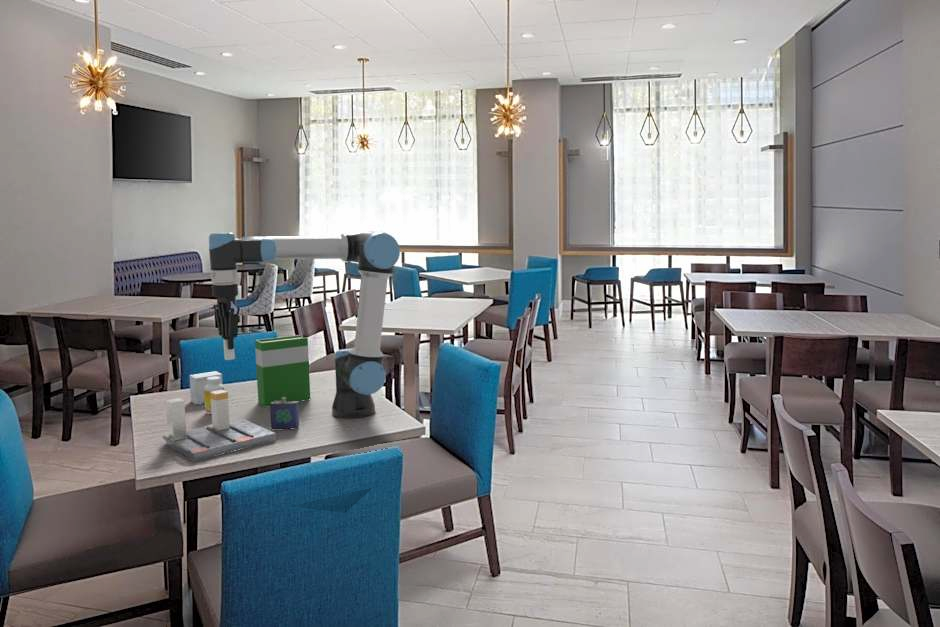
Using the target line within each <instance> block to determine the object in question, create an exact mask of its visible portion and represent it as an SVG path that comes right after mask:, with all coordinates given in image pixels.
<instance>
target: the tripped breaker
mask: <svg viewBox="0 0 940 627" xmlns="http://www.w3.org/2000/svg"><path fill="white" fill-rule="evenodd" d="M210 399H211V414H212V415H211V425H212V428H214V429H216V430H218V431H219V430H224V429H228V428H230V423H229V422H230V413H229V412H230V409H229V392H228V391H226V390H225V389H224V390H218V391H212V392H210Z"/></svg>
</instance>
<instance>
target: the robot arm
mask: <svg viewBox="0 0 940 627" xmlns="http://www.w3.org/2000/svg"><path fill="white" fill-rule="evenodd" d="M400 250H401V249H400V246H399V243H398V241H397V240H396V238H395V237H394V236H392V235H391V234H389V233H387V232H383V231H374V230H367V231H361V232H353V233H351V232H350V233H341V234H340V235H339V236H338V235H337V236H252V235H245V236H242V237H241V238H236V236H235V234H234V232H213V233H210V234H209V236H208V252H209V254H208V255H209V265H210V274H209V277H211V278H210V279H211V283H212V285H211V294H212V297H213V298H217V299H216V304H213V310H214V313H215V319H216V324H217V331H218V335H219V336H221V338H222V339H223V340H222V342H223V356H224V360H225V361H231V360H236V354H235V340H234V339H236V338H237V337H238V334H239V333H238V331H239V315H240V310H241V309H240V307H238V306H237V307H236V301H235V297H237V296H238V295H239V286H238V283H237V282H238V268H237V264H245V263H246V264H247V263H249V264H251V263H255V264H257V263H268V262H274V261H275V260H325V259H326V260H335V259H336V260H337V259H338V260H339V259H340V260H341V261H342V262H345V263H346V262H352V263H357V264H358V266H357V267H358V268H357V271H358V273H359V274H360V275H361V281H360V288H359V289H360V290H359V299H358V307H357V308H358V310H357V317H356V318H357V319H356V326H355V336H354V346H353V347H351V348H343V349H337V350H336V351H335V354H334V368H335V369H334V371H335V386H336V387H335V389H336V390H335V396H334V399H333V402H332V406H331V414H332V415H333V416H334V417H337V418H343V419H344V418H345V419H349V418H350V419H354V418H355V419H356V418H363V417H367V416H370V415H372V414H374V413H375V411H376V405H375V402H374V399H373V397H372V396H373V394H376V393H378V391H380V390H381V389H382V388H383V386H384V384H385V382H386V378H387V375H386V373H387V372H386V371H385V368H384V366H383V364H384V358H385V357H384V353H383V352H382V350H381V340H382V331H383V323H384V314H385V305H386V295H387V287H388V279H389V278H390V277H392V276H393V274H394V267H395V265H396V264H397V263H398V261H399V259H400V254H401V251H400Z"/></svg>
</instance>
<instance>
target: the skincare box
mask: <svg viewBox="0 0 940 627" xmlns="http://www.w3.org/2000/svg"><path fill="white" fill-rule="evenodd" d="M214 376H218V377H220V378H221V381H220V384H222V385H223V374H222V373H220V372H219V371H217V370H213V371H209V372H207V371H206V372H202V373H201V372H200V373H194V374H189V376H188V377H189V389H190V390H189V391H190V392H189V393H190V402H191V403H193V404H194V403H195V405H196V404H199V405H201V404H200V403H204V404H205V391H204V388H205V386H206V385H207V384H208V383H207V378H208V377H214ZM223 386H224V385H223Z"/></svg>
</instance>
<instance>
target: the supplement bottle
mask: <svg viewBox="0 0 940 627" xmlns="http://www.w3.org/2000/svg"><path fill="white" fill-rule="evenodd" d="M220 381H221V378H220V377H218V376H214V377H208V378H207V383H208V384H207V385H206V386H205V388H204V391H205V403H204V404H205V414H207V415H209V414H211V399H210V392H212V391H218V390H224V391H225V386H224V385H222V384H220Z"/></svg>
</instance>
